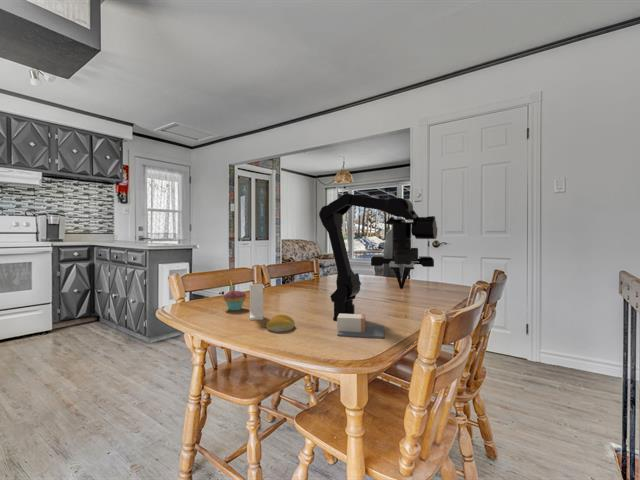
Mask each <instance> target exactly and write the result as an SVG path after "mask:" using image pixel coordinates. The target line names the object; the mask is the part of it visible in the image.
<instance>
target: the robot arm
mask: <svg viewBox="0 0 640 480" xmlns="http://www.w3.org/2000/svg"><path fill="white" fill-rule="evenodd" d="M353 206H354V207H358V208H359V207H360V208H365V209H366V208H367V209H372V210H378V211H381V212H383V213H386V214H389V215H391V216H390V217H389V218H388V220H386V221H385V225H392V226H391V231H392V235H391V237H392V238H391V246H392V247H391V250H392V251H391V257H385V256H384V255H373V256H372V257H370V266H371V267H374V266H375V267H382V265H388V266H389V269H390V270H393V272H394V274H395V276H396V280H397V283H398V286H399V290H403V289H404V286H405V283H406V280H407V278H408V276H409V273H410V271H411V270H414V269H415V267H414V266H415V265H421V266H422V267H423V268H424V267H425V268H428V267H429V268H430V267H431V268H433V267H435V260H434V258H433V257H432V256H429V255H427V256H422V255H421V256H419V248H418V247H412V236H413V237H415V239H416V240H436V239H437V236H438V227H437V220H436V216H435V215H434V216H433V215H429V216H422V217H421V216H419V215H418V214H417V213H416V211H415V210H414V205H413V203H412V201H410V200H409V199H406V198H403V197H402V198H401V197H388V198H379V197H369V196H364V195H357V194H353V193H349V192H346V193H344V194H342V195H340V197H339V198H336V199H335V200H333V201H331V202H330V203H328V204H327V205H324V206H322V207H321V208H320V211H319V212H318V217H319V219H320V222H321V225H322V226H323V228H324V229H325V230H326V232H327V234H328V238H329V241H330V245H331V246H330V247H331V250H332V254H333V257H334V261H335V262H334V263H335V267H336V270H337V274H336V281H335V283H336V290H334V292H333V293H332V294H331V295H330V301H331V302H332V303H333V317H332V320H333V321H337V317H338V315H339V313H340V314H356V313H355V311H356V309H355V308H356V307H355V303H354V300H355V299H356V296H357V295H358V294H359V293H360V290H361V285H362V283H361V281H360V274H359V273H357V272H356V273H354V271H353V270H352V268H351V263H350V259H349V255H348V252H347V248H346V247H347V246H346V243H345V239H344V235H343V229H342V228H343V222H344V221H343V219H344V218H343V216H345V214H347V213H348V212H349V211H350V209H351V208H352V207H353ZM394 216H395V217H399V218H395V217H394ZM406 220H409V221H411V222H408V221H407V222H406ZM400 265H402V275H401V269H400Z"/></svg>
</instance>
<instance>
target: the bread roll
mask: <svg viewBox="0 0 640 480" xmlns="http://www.w3.org/2000/svg"><path fill="white" fill-rule="evenodd" d="M295 325H296V324H295V321H294V319H293V317H291V316H289V315H287V314H277V315H275V316H273V317H272V318H271V319H270V320H269V321H268V322H267V323H266V329H267V330H268V331H271V332H274V333H275V332H276V333H282V332H288V331H289V332H290V331H291V330H293V329H294V328H295Z"/></svg>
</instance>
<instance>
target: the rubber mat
mask: <svg viewBox="0 0 640 480" xmlns="http://www.w3.org/2000/svg"><path fill="white" fill-rule="evenodd" d="M384 334H385V332H384V325H379V324H378V325H377V324H376V325H374V324H365V332H348V331H337V336H339V337H354V338H368V339H369V338H370V339H371V338H372V339H373V338H374V339H384V337H385V335H384Z"/></svg>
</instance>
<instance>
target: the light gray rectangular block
mask: <svg viewBox="0 0 640 480" xmlns="http://www.w3.org/2000/svg"><path fill="white" fill-rule="evenodd" d="M249 320H250V321H256V320H257V321H259V320H261V321H262V320H264V284H263V283H259V284H258V283H257V284H249Z"/></svg>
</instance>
